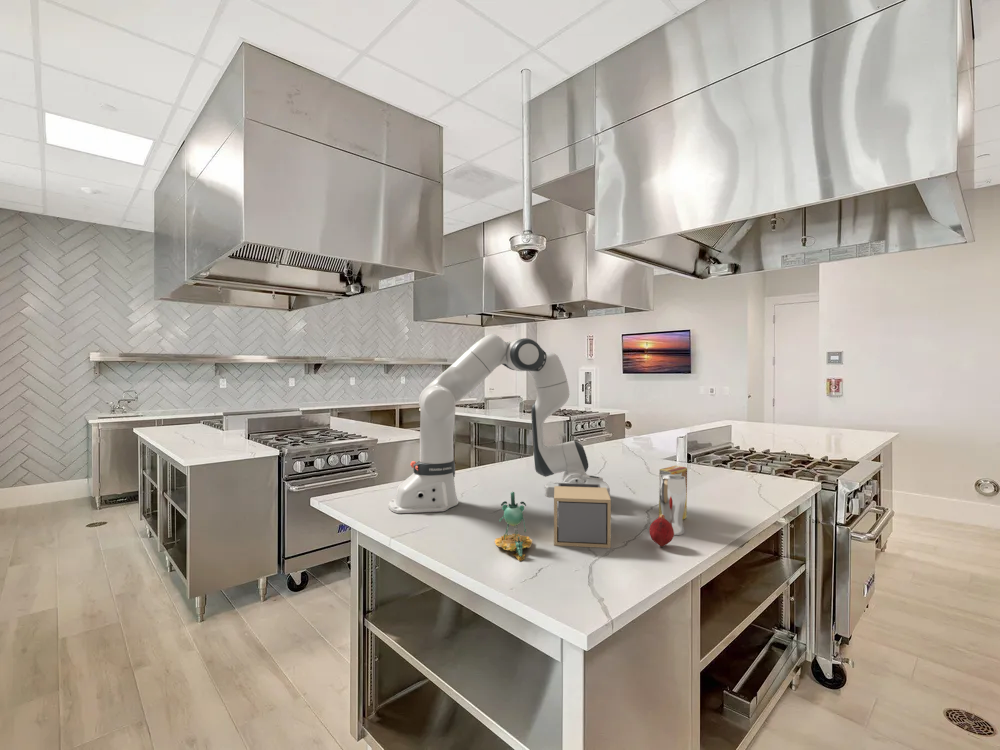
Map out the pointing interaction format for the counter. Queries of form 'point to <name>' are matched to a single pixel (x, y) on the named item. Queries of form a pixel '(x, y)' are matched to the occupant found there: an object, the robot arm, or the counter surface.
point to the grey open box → (581, 519)
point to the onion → (661, 531)
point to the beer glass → (673, 500)
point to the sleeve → (583, 496)
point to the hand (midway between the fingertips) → (577, 497)
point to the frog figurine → (513, 518)
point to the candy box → (676, 471)
